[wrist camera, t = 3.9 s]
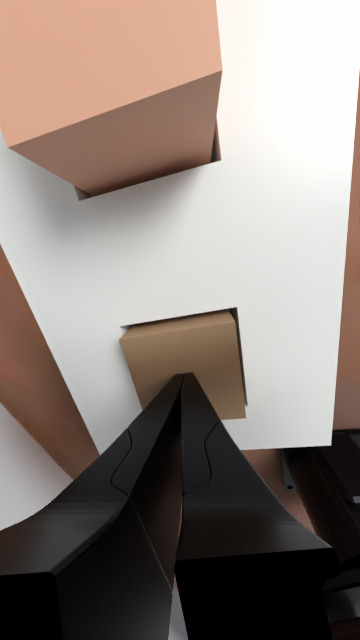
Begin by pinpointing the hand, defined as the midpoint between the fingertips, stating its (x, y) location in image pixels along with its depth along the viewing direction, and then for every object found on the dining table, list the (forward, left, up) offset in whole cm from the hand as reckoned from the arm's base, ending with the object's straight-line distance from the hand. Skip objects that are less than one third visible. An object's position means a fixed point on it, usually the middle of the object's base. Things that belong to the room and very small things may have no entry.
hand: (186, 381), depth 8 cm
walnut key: (0, 0, -4) cm, 4 cm away
